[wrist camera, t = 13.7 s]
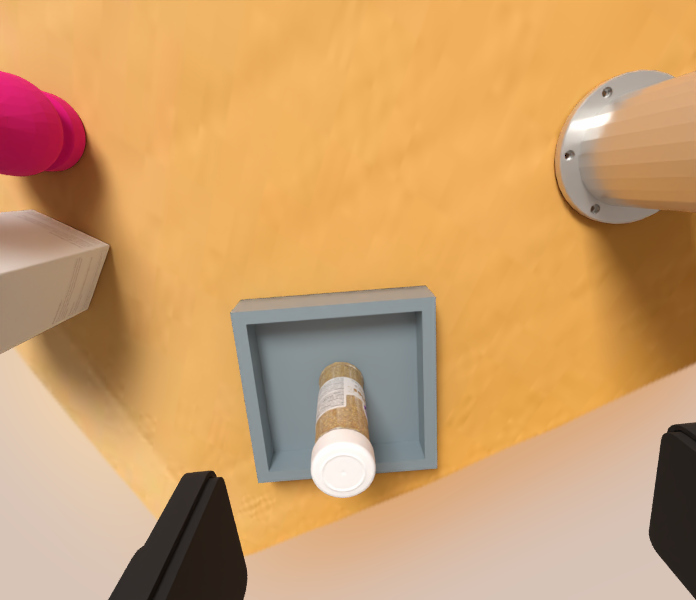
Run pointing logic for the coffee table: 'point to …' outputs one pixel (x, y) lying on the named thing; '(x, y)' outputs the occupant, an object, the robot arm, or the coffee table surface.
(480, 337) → the coffee table surface
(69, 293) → the supplement box
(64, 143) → the pepper mill
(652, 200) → the robot arm
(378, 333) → the tray
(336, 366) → the sprinkles bottle
